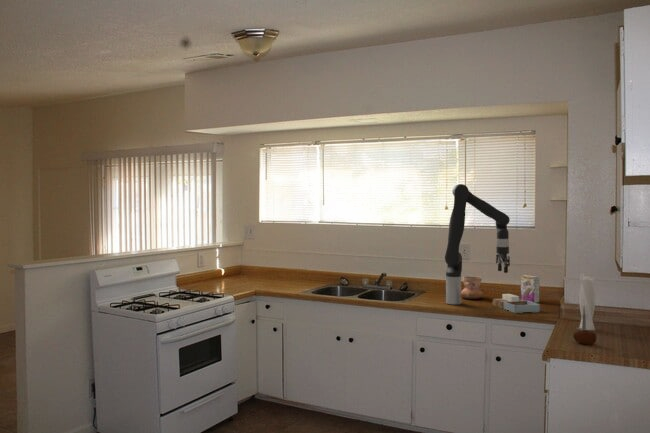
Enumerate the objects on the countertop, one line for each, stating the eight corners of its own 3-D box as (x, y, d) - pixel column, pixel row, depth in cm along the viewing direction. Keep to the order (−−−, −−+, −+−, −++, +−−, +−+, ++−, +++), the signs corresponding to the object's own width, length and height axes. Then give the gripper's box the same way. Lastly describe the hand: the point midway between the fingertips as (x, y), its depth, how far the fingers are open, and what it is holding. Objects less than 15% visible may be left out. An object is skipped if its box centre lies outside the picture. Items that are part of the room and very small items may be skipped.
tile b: (507, 300, 341) (507, 295, 341) (514, 300, 342) (514, 295, 342) (511, 301, 337) (511, 296, 336) (518, 301, 338) (518, 296, 337)
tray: (503, 309, 335) (503, 301, 335) (527, 307, 338) (528, 300, 338) (515, 313, 322) (515, 305, 322) (540, 312, 325) (540, 304, 325)
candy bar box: (520, 300, 363) (520, 275, 363) (525, 299, 365) (525, 274, 365) (534, 303, 353) (534, 277, 353) (539, 302, 356) (539, 276, 355)
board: (492, 305, 348) (492, 298, 348) (516, 304, 351) (516, 297, 351) (503, 309, 335) (503, 302, 335) (527, 307, 338) (527, 301, 338)
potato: (592, 347, 247) (592, 332, 247) (570, 343, 253) (570, 329, 253) (598, 344, 252) (598, 330, 251) (577, 340, 258) (577, 326, 258)
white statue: (574, 327, 286) (574, 273, 285) (589, 327, 286) (589, 272, 286) (583, 331, 277) (583, 275, 277) (598, 331, 278) (599, 274, 277)
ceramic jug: (476, 301, 361) (477, 279, 361) (455, 298, 371) (456, 277, 370) (487, 298, 375) (488, 276, 375) (467, 295, 385) (468, 274, 384)
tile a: (502, 298, 347) (502, 294, 347) (509, 298, 348) (509, 293, 348) (506, 300, 342) (506, 295, 342) (514, 299, 343) (514, 295, 343)
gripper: (492, 245, 357) (492, 270, 357) (502, 247, 343) (502, 273, 343) (503, 245, 358) (503, 270, 358) (513, 246, 344) (513, 273, 344)
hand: (502, 271), depth 351 cm, fingers open, 8 cm apart
